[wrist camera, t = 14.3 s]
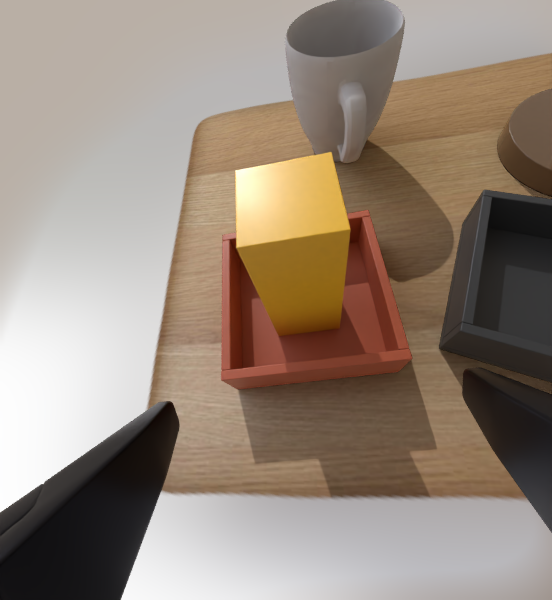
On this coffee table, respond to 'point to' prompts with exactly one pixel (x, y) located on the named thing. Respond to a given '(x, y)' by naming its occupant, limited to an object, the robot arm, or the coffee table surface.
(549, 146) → the tall lamp
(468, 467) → the coffee table surface
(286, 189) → the yellow box
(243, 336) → the bin left
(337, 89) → the mug
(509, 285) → the bin right
